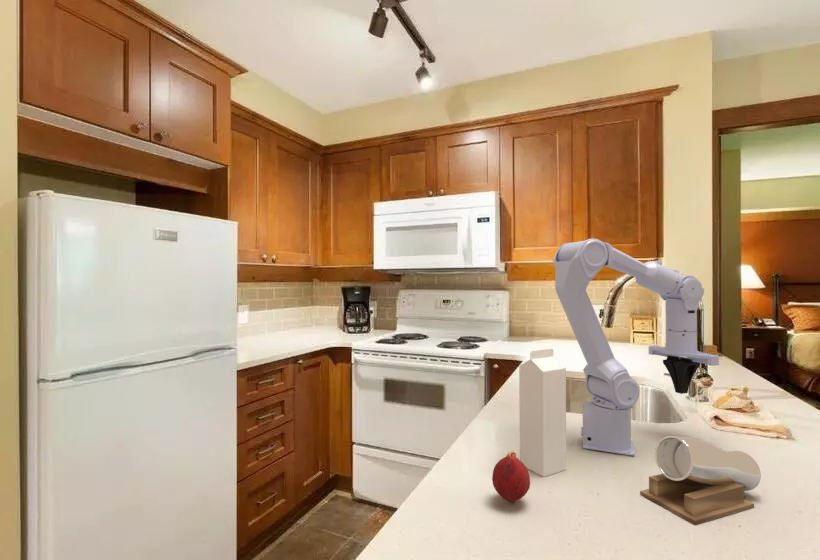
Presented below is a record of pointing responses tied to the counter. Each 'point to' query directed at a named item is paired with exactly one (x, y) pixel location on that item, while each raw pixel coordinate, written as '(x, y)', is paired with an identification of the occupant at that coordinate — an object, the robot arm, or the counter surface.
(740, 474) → the beer glass
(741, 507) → the cradle
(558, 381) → the milk
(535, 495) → the counter surface
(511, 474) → the red oval fruit
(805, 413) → the counter surface
